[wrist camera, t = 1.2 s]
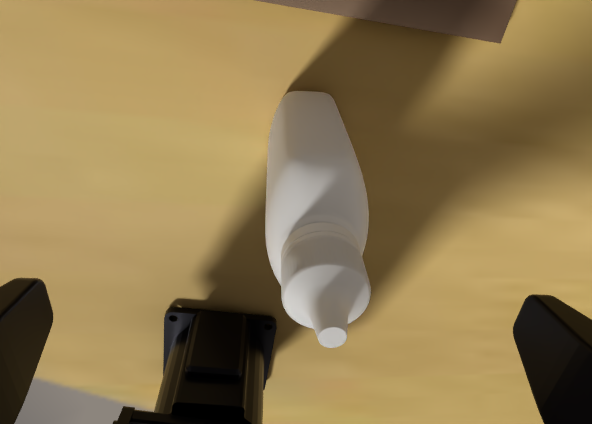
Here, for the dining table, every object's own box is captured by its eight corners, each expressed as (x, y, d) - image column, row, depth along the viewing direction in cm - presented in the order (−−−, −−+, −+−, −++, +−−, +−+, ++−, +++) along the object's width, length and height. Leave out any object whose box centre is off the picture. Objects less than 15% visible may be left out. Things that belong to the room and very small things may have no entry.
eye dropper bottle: (376, 121, 20) (480, 295, 10) (310, 211, 23) (340, 427, 12) (296, 70, 19) (322, 210, 9) (235, 171, 21) (198, 376, 11)
